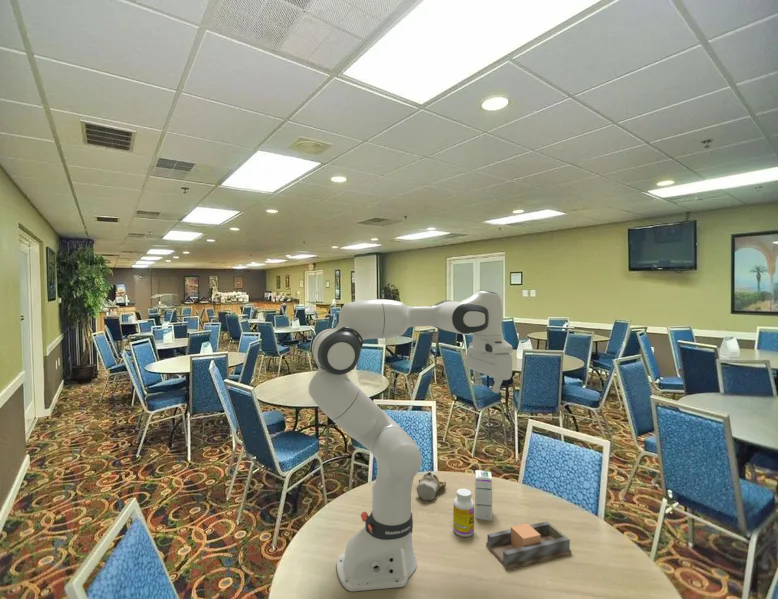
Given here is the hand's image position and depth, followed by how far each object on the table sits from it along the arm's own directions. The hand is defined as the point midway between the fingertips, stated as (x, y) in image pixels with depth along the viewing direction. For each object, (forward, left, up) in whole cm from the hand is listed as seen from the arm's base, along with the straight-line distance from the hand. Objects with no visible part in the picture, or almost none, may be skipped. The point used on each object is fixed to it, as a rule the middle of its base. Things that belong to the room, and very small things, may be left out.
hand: (486, 388), depth 119 cm
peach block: (+9, -7, -47) cm, 48 cm away
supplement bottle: (-4, +7, -48) cm, 49 cm away
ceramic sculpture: (-5, +32, -48) cm, 58 cm away
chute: (+10, -7, -48) cm, 49 cm away
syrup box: (+7, +13, -48) cm, 50 cm away
